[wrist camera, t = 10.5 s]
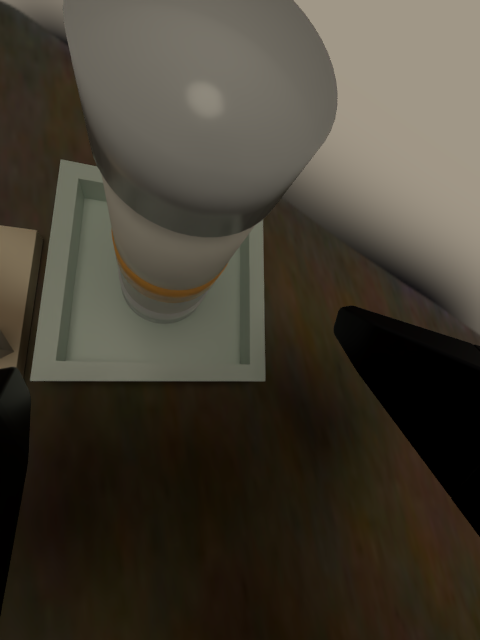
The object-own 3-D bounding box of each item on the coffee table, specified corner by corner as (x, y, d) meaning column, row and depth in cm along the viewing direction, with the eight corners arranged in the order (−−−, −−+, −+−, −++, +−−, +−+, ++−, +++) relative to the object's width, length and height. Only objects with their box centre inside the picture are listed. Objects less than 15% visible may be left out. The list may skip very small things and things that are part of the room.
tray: (249, 381, 17) (265, 381, 15) (47, 381, 14) (29, 381, 12) (248, 220, 19) (262, 199, 17) (72, 190, 16) (61, 159, 14)
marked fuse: (210, 316, 16) (364, 175, 5) (128, 330, 15) (88, 174, 4) (195, 244, 17) (304, -31, 6) (114, 250, 15) (43, -104, 4)
